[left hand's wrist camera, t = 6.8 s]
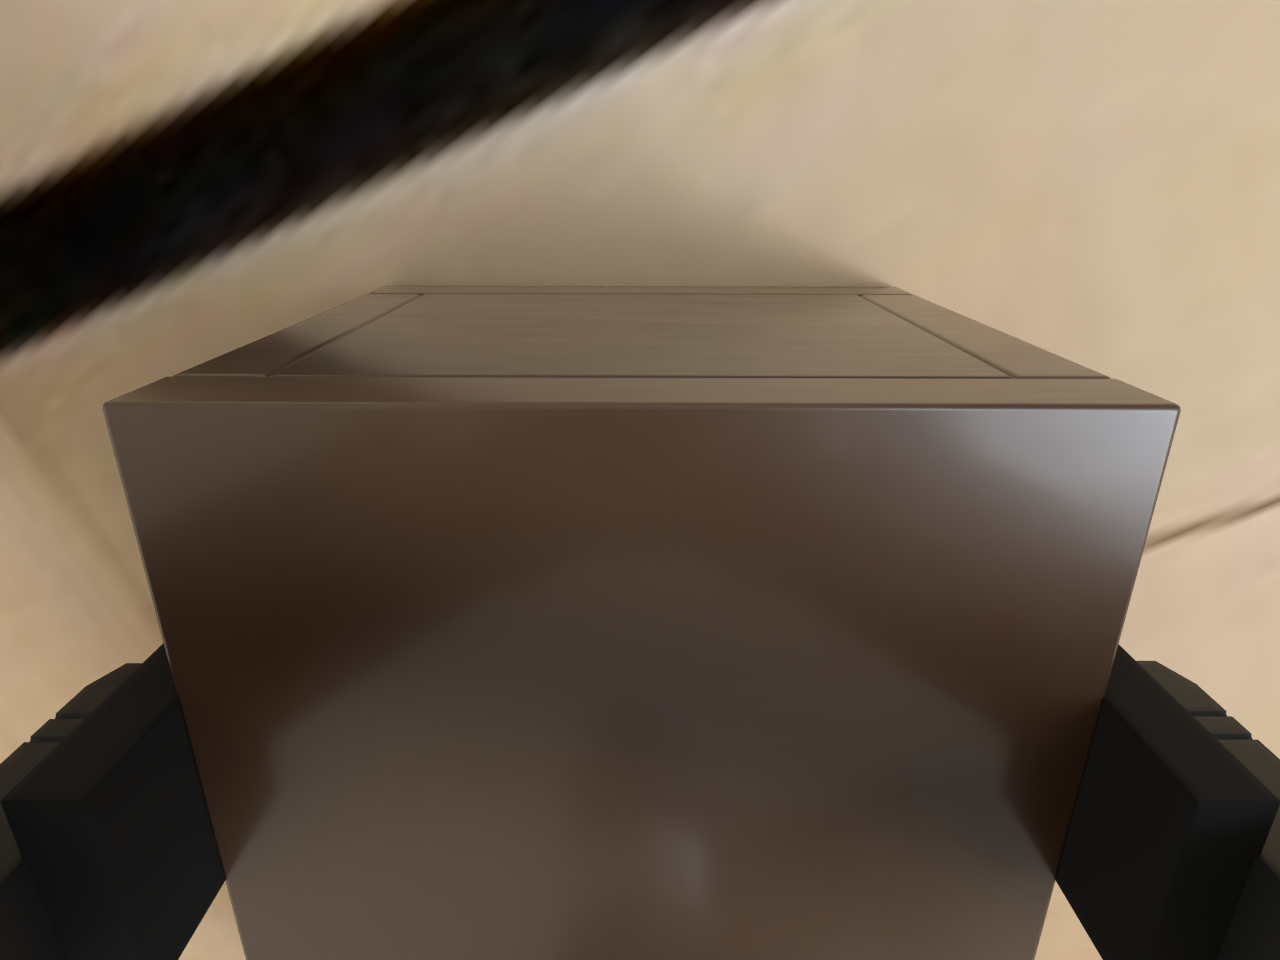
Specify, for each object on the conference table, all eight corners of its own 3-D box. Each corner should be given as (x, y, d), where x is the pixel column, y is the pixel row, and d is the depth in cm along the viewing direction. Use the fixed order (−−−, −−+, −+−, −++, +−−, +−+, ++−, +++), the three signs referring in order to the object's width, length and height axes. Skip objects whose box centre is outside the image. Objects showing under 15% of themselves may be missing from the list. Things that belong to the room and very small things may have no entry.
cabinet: (814, 980, 22) (911, 1425, 14) (463, 980, 22) (365, 1425, 14) (898, 286, 15) (1184, 405, 7) (383, 285, 15) (97, 402, 7)
